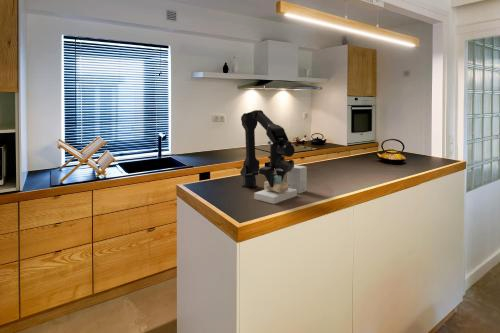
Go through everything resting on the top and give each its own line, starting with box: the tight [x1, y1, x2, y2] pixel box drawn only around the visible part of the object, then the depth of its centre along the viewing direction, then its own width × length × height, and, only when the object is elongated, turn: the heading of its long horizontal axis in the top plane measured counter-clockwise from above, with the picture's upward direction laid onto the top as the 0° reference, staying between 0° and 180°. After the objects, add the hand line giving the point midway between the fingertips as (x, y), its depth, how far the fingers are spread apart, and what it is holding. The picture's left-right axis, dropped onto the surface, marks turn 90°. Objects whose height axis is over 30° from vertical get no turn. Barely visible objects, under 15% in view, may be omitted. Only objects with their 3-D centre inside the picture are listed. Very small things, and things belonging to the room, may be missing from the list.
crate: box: [273, 174, 283, 184], centre depth 151 cm, size 4×4×3 cm
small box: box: [286, 164, 308, 194], centre depth 163 cm, size 8×6×13 cm
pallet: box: [263, 180, 288, 193], centre depth 152 cm, size 10×6×4 cm, turn 47°
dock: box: [253, 188, 298, 205], centre depth 153 cm, size 12×18×3 cm
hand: (275, 186), depth 152 cm, fingers closed on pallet, 6 cm apart
